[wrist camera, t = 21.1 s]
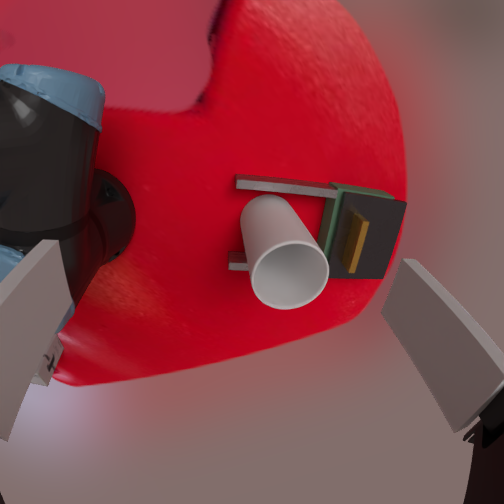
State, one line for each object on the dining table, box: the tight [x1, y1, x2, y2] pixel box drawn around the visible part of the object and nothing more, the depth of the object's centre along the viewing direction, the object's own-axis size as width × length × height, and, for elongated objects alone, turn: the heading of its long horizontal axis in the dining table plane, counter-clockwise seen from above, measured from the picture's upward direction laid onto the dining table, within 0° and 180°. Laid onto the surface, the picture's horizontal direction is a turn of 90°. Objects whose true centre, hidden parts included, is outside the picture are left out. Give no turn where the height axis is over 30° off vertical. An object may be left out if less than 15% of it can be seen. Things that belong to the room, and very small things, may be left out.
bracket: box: [228, 174, 338, 271], centre depth 42 cm, size 14×13×4 cm
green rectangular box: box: [317, 182, 395, 261], centre depth 44 cm, size 10×14×4 cm
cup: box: [240, 194, 329, 309], centre depth 36 cm, size 8×8×16 cm
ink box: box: [30, 334, 64, 386], centre depth 45 cm, size 8×5×12 cm, turn 90°
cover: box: [327, 191, 407, 279], centre depth 40 cm, size 11×14×4 cm
